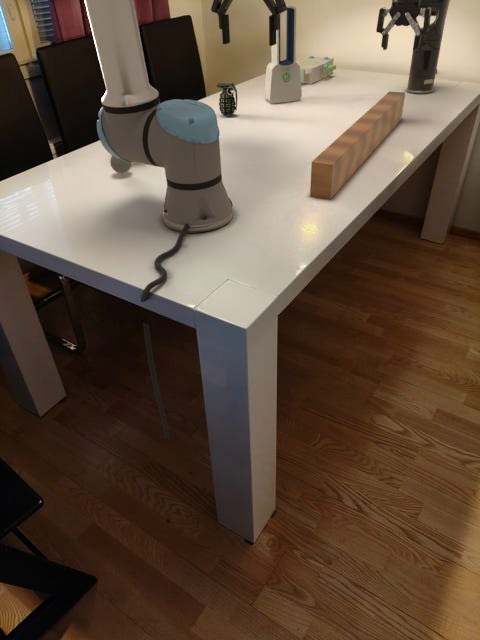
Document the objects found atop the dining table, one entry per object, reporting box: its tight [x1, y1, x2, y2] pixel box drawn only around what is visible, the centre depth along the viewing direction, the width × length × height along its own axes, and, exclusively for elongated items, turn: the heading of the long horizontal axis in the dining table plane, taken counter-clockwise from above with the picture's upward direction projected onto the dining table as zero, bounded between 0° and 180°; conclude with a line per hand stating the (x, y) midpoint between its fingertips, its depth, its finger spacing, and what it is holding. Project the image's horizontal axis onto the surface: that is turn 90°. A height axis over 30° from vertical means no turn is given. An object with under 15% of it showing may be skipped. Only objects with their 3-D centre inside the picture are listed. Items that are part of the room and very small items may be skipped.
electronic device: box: [263, 4, 303, 104], centre depth 173 cm, size 12×8×30 cm, turn 105°
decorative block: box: [295, 55, 337, 85], centre depth 207 cm, size 26×6×20 cm
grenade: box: [215, 82, 238, 117], centre depth 166 cm, size 7×6×10 cm
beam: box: [309, 91, 406, 200], centre depth 133 cm, size 66×5×8 cm, turn 152°
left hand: (249, 44), depth 128 cm, fingers open, 13 cm apart
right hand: (399, 49), depth 141 cm, fingers open, 8 cm apart
